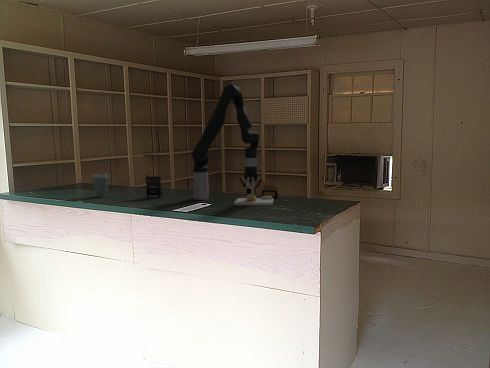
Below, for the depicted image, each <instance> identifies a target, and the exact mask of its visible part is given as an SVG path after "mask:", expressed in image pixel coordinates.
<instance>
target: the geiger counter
mask: <svg viewBox="0 0 490 368" xmlns="http://www.w3.org/2000/svg"><path fill="white" fill-rule="evenodd" d="M145 189H146V190H145V191H146V198H147V199H162V194H163V191H162V190H163V188H162V177H161V175H160V174H158V176H149V175H148V174H146V176H145Z"/></svg>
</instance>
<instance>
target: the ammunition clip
mask: <svg viewBox="0 0 490 368" xmlns="http://www.w3.org/2000/svg"><path fill="white" fill-rule="evenodd" d="M278 188H279V187H278V180H277V179H273V180H272V179H269V178H268V179H264V178H262V188H261V197H262V196H272V198H274V200H275V199H276V200H277V199H279V190H278Z"/></svg>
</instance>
